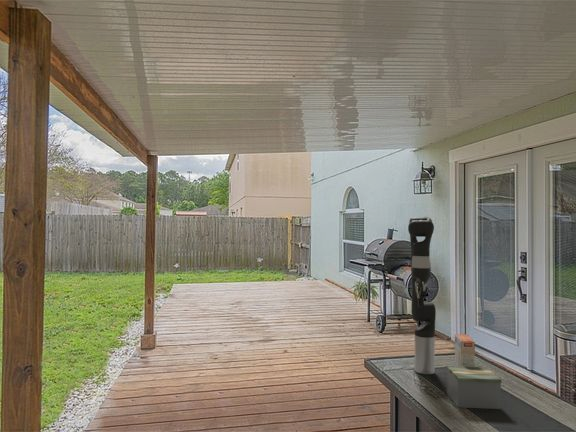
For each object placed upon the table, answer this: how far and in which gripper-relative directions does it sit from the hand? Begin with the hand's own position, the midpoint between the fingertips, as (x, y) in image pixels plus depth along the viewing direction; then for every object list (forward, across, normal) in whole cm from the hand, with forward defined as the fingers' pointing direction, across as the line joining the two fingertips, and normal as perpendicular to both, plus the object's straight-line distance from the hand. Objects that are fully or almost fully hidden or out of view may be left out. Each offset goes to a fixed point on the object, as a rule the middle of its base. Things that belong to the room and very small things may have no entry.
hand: (420, 307), depth 181 cm
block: (+35, -10, -18) cm, 41 cm away
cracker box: (+35, +8, -21) cm, 42 cm away
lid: (+25, -10, -18) cm, 32 cm away
